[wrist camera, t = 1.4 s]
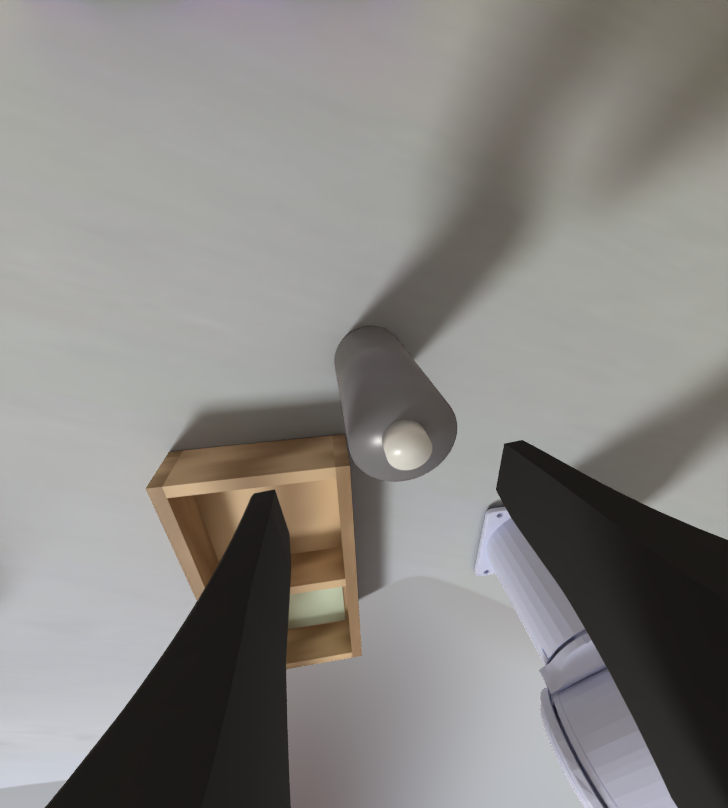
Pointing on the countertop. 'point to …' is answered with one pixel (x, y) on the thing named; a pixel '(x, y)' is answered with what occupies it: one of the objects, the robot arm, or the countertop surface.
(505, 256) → the countertop surface
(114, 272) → the countertop surface
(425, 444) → the battery cell
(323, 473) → the cell tray
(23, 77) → the countertop surface
